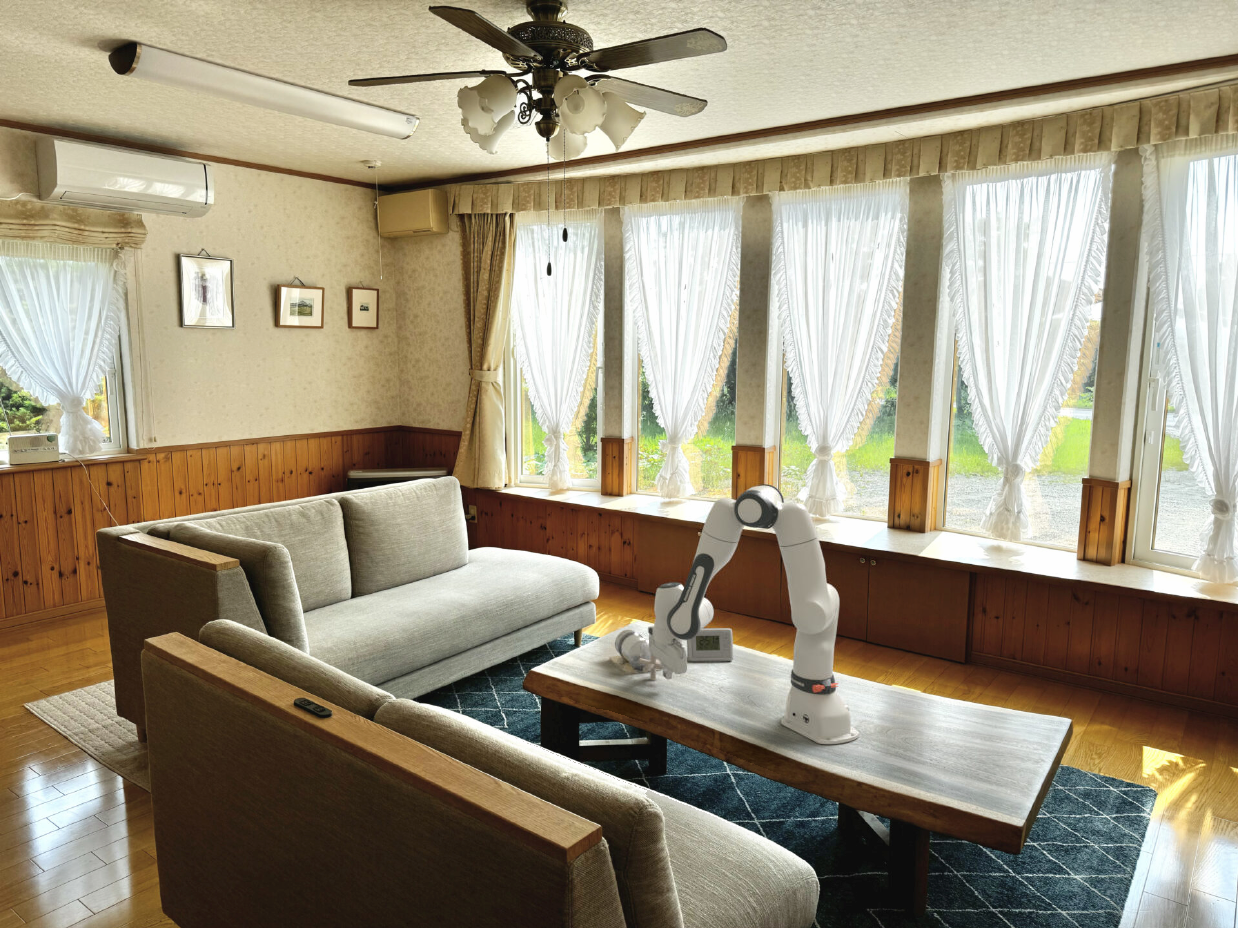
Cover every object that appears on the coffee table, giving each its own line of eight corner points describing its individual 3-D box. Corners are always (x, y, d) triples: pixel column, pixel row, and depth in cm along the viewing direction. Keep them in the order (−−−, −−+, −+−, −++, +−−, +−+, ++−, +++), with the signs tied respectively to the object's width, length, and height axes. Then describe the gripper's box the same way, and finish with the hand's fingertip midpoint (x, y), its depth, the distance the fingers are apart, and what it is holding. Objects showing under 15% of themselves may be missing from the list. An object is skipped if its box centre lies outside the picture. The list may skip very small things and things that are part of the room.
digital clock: (685, 662, 284) (686, 632, 283) (685, 653, 293) (687, 624, 292) (733, 665, 283) (735, 635, 281) (732, 655, 292) (733, 626, 290)
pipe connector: (658, 688, 262) (658, 658, 260) (631, 680, 267) (631, 651, 266) (674, 677, 270) (674, 648, 268) (648, 670, 275) (648, 641, 274)
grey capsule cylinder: (661, 669, 277) (662, 638, 275) (625, 674, 272) (626, 643, 270) (643, 655, 290) (644, 625, 288) (609, 659, 285) (609, 629, 283)
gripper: (692, 643, 249) (691, 688, 251) (663, 623, 268) (662, 665, 270) (673, 646, 247) (672, 691, 248) (645, 625, 266) (644, 667, 267)
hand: (667, 677), depth 259 cm, fingers closed
